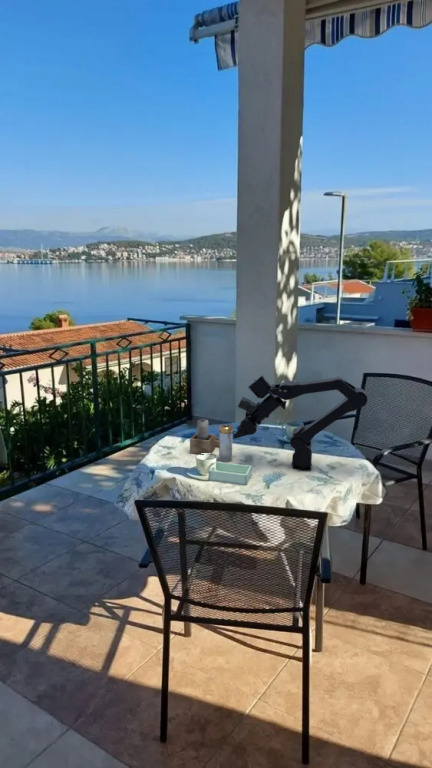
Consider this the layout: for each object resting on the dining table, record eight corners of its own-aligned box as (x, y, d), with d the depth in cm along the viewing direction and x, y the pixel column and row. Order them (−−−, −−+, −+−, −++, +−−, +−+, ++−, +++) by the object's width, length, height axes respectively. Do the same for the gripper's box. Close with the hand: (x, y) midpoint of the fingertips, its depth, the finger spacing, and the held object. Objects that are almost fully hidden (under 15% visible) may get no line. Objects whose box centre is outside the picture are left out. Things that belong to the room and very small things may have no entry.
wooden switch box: (227, 443, 208) (227, 435, 207) (223, 448, 202) (223, 440, 201) (208, 441, 210) (208, 433, 209) (204, 446, 204) (204, 438, 203)
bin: (214, 449, 201) (215, 417, 198) (209, 455, 193) (209, 423, 190) (196, 446, 203) (196, 415, 200) (189, 453, 195) (189, 421, 192)
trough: (251, 475, 175) (251, 466, 175) (246, 485, 167) (246, 475, 166) (215, 470, 179) (215, 461, 178) (208, 480, 171) (208, 470, 170)
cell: (233, 458, 191) (234, 423, 188) (230, 462, 187) (231, 427, 183) (220, 456, 193) (221, 422, 190) (217, 461, 188) (217, 425, 185)
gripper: (254, 385, 191) (225, 411, 195) (248, 397, 173) (216, 425, 177) (274, 406, 191) (245, 431, 195) (269, 420, 173) (237, 447, 178)
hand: (235, 433), depth 186 cm, fingers open, 9 cm apart
